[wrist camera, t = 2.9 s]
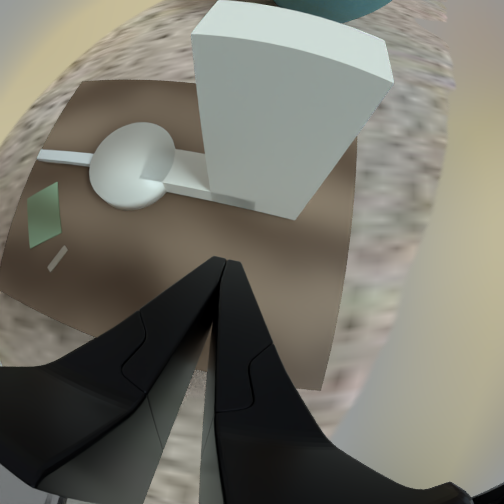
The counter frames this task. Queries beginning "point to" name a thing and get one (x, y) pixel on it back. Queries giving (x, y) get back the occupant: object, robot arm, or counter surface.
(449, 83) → the counter surface
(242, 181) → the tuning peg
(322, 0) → the teal bowl
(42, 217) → the dial board
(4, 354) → the counter surface
